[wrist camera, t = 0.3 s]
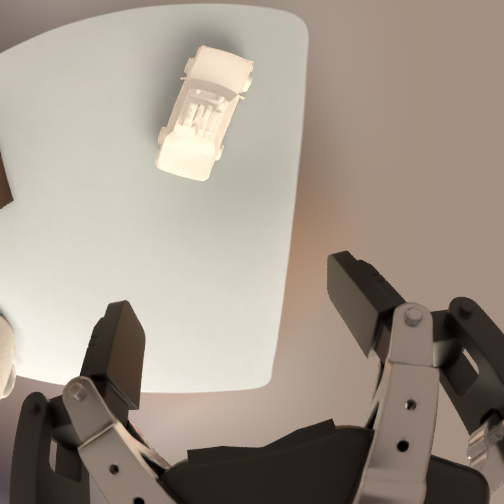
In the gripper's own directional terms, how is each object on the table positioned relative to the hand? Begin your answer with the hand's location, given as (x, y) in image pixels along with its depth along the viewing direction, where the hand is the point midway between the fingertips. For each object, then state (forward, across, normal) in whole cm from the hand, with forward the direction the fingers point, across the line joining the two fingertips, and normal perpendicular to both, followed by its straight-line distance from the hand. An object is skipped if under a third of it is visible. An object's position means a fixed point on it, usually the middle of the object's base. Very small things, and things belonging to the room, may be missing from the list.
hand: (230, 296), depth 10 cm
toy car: (+18, -1, -7) cm, 20 cm away
